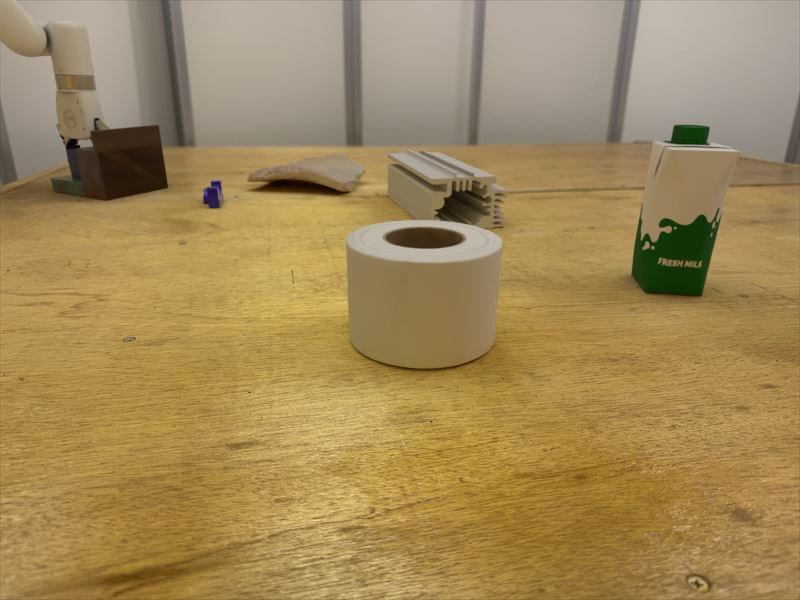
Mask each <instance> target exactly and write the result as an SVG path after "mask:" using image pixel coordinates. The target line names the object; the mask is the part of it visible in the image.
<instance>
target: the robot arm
mask: <svg viewBox="0 0 800 600" xmlns="http://www.w3.org/2000/svg"><path fill="white" fill-rule="evenodd" d="M0 42H1V43H2V44H3V45H4V46H5V47H6V48H7V49H9V50H10V51H11V52H13V53H14V54H17V55H19V56H22V57H26V58H39V57H50V58H51V63H52V64H51V65H52V69H53V74H54V75H53V76H54V81H55V86H56V91H55V107H56V108H55V109H56V117H57V123H56V124H55V125H56V129H57V131H58V133H59V137H60V138H61V139H62V143H63V144H62V145H64V146H65V152H66V150H67V149H76V148H81V144H79V142H80V141H90V142H91V143H92V139H91V134H90V131H94V130H105V129H111V128H110V127H109V126H107V125H106V124H105V119H104V112H103V109H102V105H101V101H100V97H99V94H98V91H97V83H96V77H95V70H94V65H93V58H92V51H91V44H90V38H89V33H88V28H87V26H85V24H84V23H82V22H80V21H76V20H75V21H74V20H66V19H65V20H64V19H51V20H48V21H44V20H38V19H34V17H33V16H32V15H30V13H29V12H28V11H27V10H26V9H25V7H23V6H22V5H21V4H20V3H19V2H18V1H17V0H0ZM66 154H67V152H66ZM66 158H67V159H68V156H67V155H66ZM67 163H68V164H69V161H68V160H67Z"/></svg>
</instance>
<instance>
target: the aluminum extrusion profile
mask: <svg viewBox="0 0 800 600" xmlns="http://www.w3.org/2000/svg"><path fill="white" fill-rule="evenodd" d="M418 151H419V152H415V151H413V150H411V149H409V148H407V149H405V152H395V153H394V152H392V153H391V152H390V153H389V152H388V153H387V158H388V159H389V160H391V161H393V162H394V163H388V164H387V197H389V198H390V199H391V200H392V201H394V202H395V203H396V204H397V205H398V206H400V208H402V209H403V210H404V211H405V212H406V213H407V214H409V215H410V216H411V217H412V218H413V219H414V220H434V221H447V222H456V223H462V224H468V225H472V226H476V227H480V228H483V229H493V228H494V229H495V228H501V227H506V226H507V225H506V223H504V222H506V221H507V218H506V217H503V216H504V215H505V213H504V212H502V210H503V208H502V207H501V206H499V205H505V204H506V202H505V201H503V200H504V199H508V198H509V195H506V194H505V193H509V189H507V188H504V187H503V186H500V185H498V184H496V183H497V176H496V175H494V174H491V173H489V172H486V171H484V170H482V169H480V168H477V167H475V166H472V165H470V164H468V163H465V162H463V161H461V160H458V159H456V158H454V157H452V156H449V155H448V154H443V153H442V152H439V151H432V152H431V151H426V150H424V149H422V148H418ZM501 199H503V200H501Z"/></svg>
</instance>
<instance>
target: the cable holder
mask: <svg viewBox="0 0 800 600" xmlns="http://www.w3.org/2000/svg"><path fill="white" fill-rule="evenodd" d="M222 181H223V180H220V179H219V180H211V181H210V186H207V187H204V189H203V194H202V195H203V196H202V199H203V205H208V208H209V209H220V208H221V206H222V203H223V201H224V191H223V182H222Z"/></svg>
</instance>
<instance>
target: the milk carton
mask: <svg viewBox="0 0 800 600" xmlns="http://www.w3.org/2000/svg"><path fill="white" fill-rule="evenodd" d="M710 130H711V127H710V126H707V125H698V124H675V125H673V127H672V133H671V138H670V140H662V141H660V140H659V141H658V140H654V141H652V144H651V151H650V156H649V163H648V169H647V175H646V180H645V186H644V190H643V197H642V202H641V206H640V212H639V218H638V223H637V229H636V234H635V240H634V245H633V247H634V248H633V254H632V263H631V264H632V265H631V273H630V274H631V276H632V277H633V278H634V279H635V281H636V282H637V283H638V285H639V286H640V287H641V289H642V291H643V292H644V293H650V294H663V295H664V294H665V295H666V294H667V295H668V294H669V295H681V296H683V295H684V296H700V297H702V296H703V293H704V289H705V285H706V281H707V276H708V273H709V269H710V264H711V260H712V257H713V251H714V247H715V244H716V240H717V236H718V231H719V228H720V224H721V220H722V219H721V218H722V216H723V211H724V207H725V203H726V198H727V195H728V191H729V187H730V183H731V180H732V177H733V175H734V171H735V169H736V166H737V162H738V161H739V158H740V155H741V153H742V151H740V150H736V149H734V148H733V147H732V146H728V145H723V144H720V143H716V142H708V140H709V134H710Z"/></svg>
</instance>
